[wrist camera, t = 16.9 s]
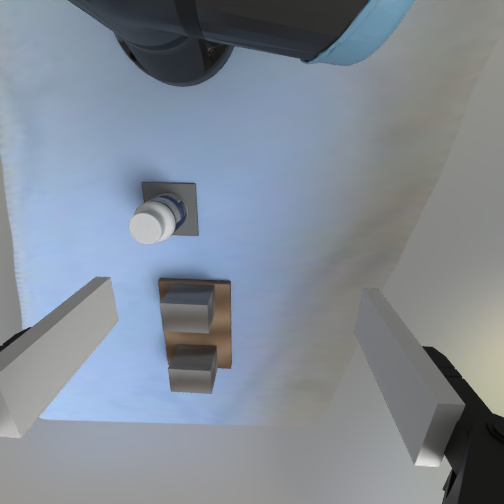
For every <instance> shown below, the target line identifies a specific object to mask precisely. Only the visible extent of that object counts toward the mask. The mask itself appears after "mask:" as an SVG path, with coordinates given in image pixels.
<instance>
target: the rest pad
mask: <svg viewBox="0 0 504 504" xmlns="http://www.w3.org/2000/svg"><path fill="white" fill-rule="evenodd" d="M142 190H143V198H144V203H145V202H147V201H149V200H151V199H153V198H155V197H157V196H159V195H161V194H164V193H172V194H175V195H177V196H179V197H180V198H181V199H182V200H183V201H184V202H185V204H186V206H187V210H188V215H187V218H186V220H185V222H184V223H183V224H182V225H181V226H180V227H179V228H178V229H177V230H176V231H175V232H174V233H173V234H172V235H184V236H198V235H199V231H198V214H197V196H196V184H185V183H147V182H142Z"/></svg>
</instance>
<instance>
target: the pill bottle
mask: <svg viewBox="0 0 504 504" xmlns="http://www.w3.org/2000/svg"><path fill="white" fill-rule="evenodd" d="M187 215H188V210H187V206H186V204H185V202H184V201H183V200H182V199H181V198H180V197H179V196H177V195H175V194H172V193H164V194H161V195H159V196H157V197H155V198H153V199H151V200H149V201H147V202H145V203H143V204H142V205H140V206H139V207H138V208H137V209H136V211H135V213H134V216H133V217H132V218H131V220H130V222H129V231H130V233H131V235H132V236H133V238H134V239H135V240H137V241H138V242H140V243H143V244H153V243H155V242H161V241H164V240H166V239H168V238H169V237H170V236H171V235H172V234H173V233H174V232H175V231H176V230H177V229H178V228H179V227H180V226H181V225H182V224H183V223H184V222H185V220H186V218H187Z"/></svg>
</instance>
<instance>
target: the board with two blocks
mask: <svg viewBox="0 0 504 504" xmlns="http://www.w3.org/2000/svg"><path fill="white" fill-rule="evenodd" d="M158 285H159V293H160V301H161V302H160V308H161V316H162V324H163V331H164V334H165V342H166V350H167V358H168V365H170V366H169V368H168V373H169V381H170V389H171V391H172V392H189V393H206V394H212V390H213V386H214V381H215V377H216V372H217V368H227V369H231V365H232V355H231V281H213V280H189V279H165V278H161V279H160V280H159V281H158Z"/></svg>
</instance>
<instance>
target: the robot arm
mask: <svg viewBox="0 0 504 504" xmlns="http://www.w3.org/2000/svg"><path fill="white" fill-rule="evenodd" d="M68 1H70V2H71V3H73V4H74V5H76V6H77V7H79V8H80V9H81V10H83V11H84V12H86V13H87V14H89V15H90V16H92V17H93V18H94V19H96V20H97V21H99V22H100V23H102V24H103V25H105V26H106V27H107V28H109V29H110V30H112V31H113V32H114V34H115V36H116V38H117V40H118V42H119V43H120V45H121V47H122V48H123V50H124V51H125V53H126V54H127V55H128V57H129V58H130V59H131V60H132V61H133V62H134V63H135V64H136V65H137V66H138V67H139V68H140V69H141V70H142V71H144V72H145V73H147V74H148V75H150V76H151V77H153V78H155V79H157V80H159V81H161V82H163V83H166V84H169V85H173V86H182V87H183V86H193V85H197V84H200V83H202V82H204V81H206V80H208V79H210V78H211V77H212V76H214V75H215V74H216V73H217V72H218V71H219V70H220V69H221V68H222V67H223V66H224V64H225V63H226V62H227V60H228V58H229V57H230V55H231V53H232V51H233V48H234V46H237V47H243V48H248V49H253V50H258V51H263V52H268V53H274V54H279V55H284V56H289V57H294V58H300V60H301V61H302V62H303V63H306V64H313V63H318V62H319V63H326V64H333V65H340V66H349V65H352V64H354V63H358V62H360V61H363V60H365V59H366V58H368V57H369V56H370V55H371V54H373V53H374V52H375V51H376V50H377V49H378V48H379V47H380V46H381V45H382V44H383V43H384V42H385V41H386V40H387V38H388V37H389V36H390V35H391V34H392V32H393V31H394V30H395V28H396V27H397V26H398V24H399V23H400V22H401V20H402V19H403V17H404V16H405V14H406V13H407V11H408V10H409V8H410V7H411V5H412V4H413V2H414V1H415V0H68ZM118 321H119V319H118V314H117V309H116V304H115V299H114V294H113V288H112V283H111V278H110V277H95V278H94V279H93V280H91V281H90V282H89V283H88V284H86V285H85V286H84V287H82V288H81V289H80V290H79V291H77V292H76V293H75V294H74V295H72V296H71V297H70V298H68V299H67V300H66V301H65V302H63V303H62V304H61V305H60V306H58V307H57V308H56V309H54V310H53V311H52V312H51V313H49V314H48V315H47V316H46V317H44V318H43V319H42V320H40V321H39V322H38V323H37V324H35V325H34V326H33V327H29V328H27V329H25V330H23V331H21V332H19V333H17V334H15V335H14V336H13V337H11V338H10V339H9V340H7V341H6V342H5V343H3V346H0V437H12V438H22V437H23V435H24V434H25V433H26V432H27V431H28V429H29V428H30V427H31V426H32V424H33V423H34V422H35V421H36V420H37V419H38V417H39V416H40V415H41V414H42V413H43V411H44V410H45V409H46V408H47V407H48V405H49V404H50V403H51V402H52V401H53V399H54V398H55V397H56V396H57V395H58V393H59V392H60V391H61V390H62V389H63V387H64V386H65V385H66V384H67V382H68V381H69V380H70V379H71V378H72V376H73V375H74V374H75V373H76V372H77V370H78V369H79V368H80V367H81V366H82V364H83V363H84V362H85V361H86V360H87V358H88V357H89V356H90V355H91V354H92V352H93V351H94V350H95V349H96V348H97V346H98V345H99V344H100V343H101V342H102V340H103V339H104V338H105V337H106V336H107V334H108V333H109V332H110V331H111V330H112V328H113V327H114V326H115V325H116V324H117V322H118ZM354 333H355V335H356V337H357V339H358V341H359V344H360V346H361V348H362V350H363V352H364V355H365V357H366V359H367V361H368V364H369V366H370V368H371V370H372V372H373V375H374V377H375V379H376V381H377V383H378V386H379V388H380V390H381V392H382V394H383V397H384V399H385V401H386V403H387V406H388V408H389V410H390V412H391V414H392V417H393V419H394V421H395V423H396V425H397V428H398V430H399V432H400V434H401V436H402V439H403V441H404V443H405V445H406V448H407V450H408V452H409V454H410V456H411V458H412V461H413V463H414V465H417V466H432V467H439V466H440V464H441V461H442V459H443V457H444V455H445V456H446V458H447V460H448V461H449V463H450V465H451V467H452V470H451V472H450V474H449V476H448V478H447V481H446V483H445V485H444V487H443V490H444V491H445V494H444V498H443V502H442V504H504V417H501V416H498V415H496V414H493V413H492V412H491V411H490V410H489V409H488V407H487V406H486V405H485V404H484V402H483V401H482V400H481V399H480V398H479V397H478V395H477V394H476V393H475V392H474V390H473V389H472V388H471V387H470V386H469V384H468V383H467V382H466V381H465V379H462V376H461V375H460V373H459V372H458V371H457V370H456V369H455V367H454V366H453V365H452V364H451V363H450V361H449V360H448V359H447V358H446V356H444V355H443V354H442V353H440V352H439V351H438V350H436V349H435V348H433V347H424V346H421V345H420V344H419V342H418V341H417V339H416V338H415V337H414V335H413V334H412V333H411V332H410V330H409V329H408V327H407V326H406V325H405V323H404V322H403V321H402V319H401V318H400V317H399V315H398V314H397V313H396V311H395V310H394V309H393V308H392V306H391V305H390V303H389V302H388V301H387V299H386V298H385V297H384V295H383V294H382V293H381V291H380V290H379V289H376V288H363V291H362V296H361V301H360V306H359V311H358V317H357V322H356V327H355V332H354Z"/></svg>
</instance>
